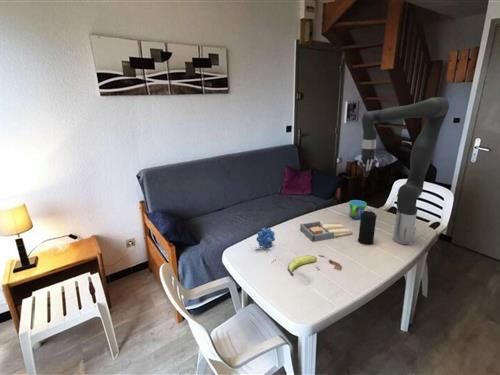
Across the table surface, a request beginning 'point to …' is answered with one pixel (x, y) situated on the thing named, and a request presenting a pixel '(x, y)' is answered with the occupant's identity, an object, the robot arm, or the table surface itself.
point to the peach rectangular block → (316, 230)
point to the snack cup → (357, 208)
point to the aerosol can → (367, 227)
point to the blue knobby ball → (265, 237)
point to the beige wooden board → (336, 229)
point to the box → (314, 238)
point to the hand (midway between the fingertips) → (366, 176)
